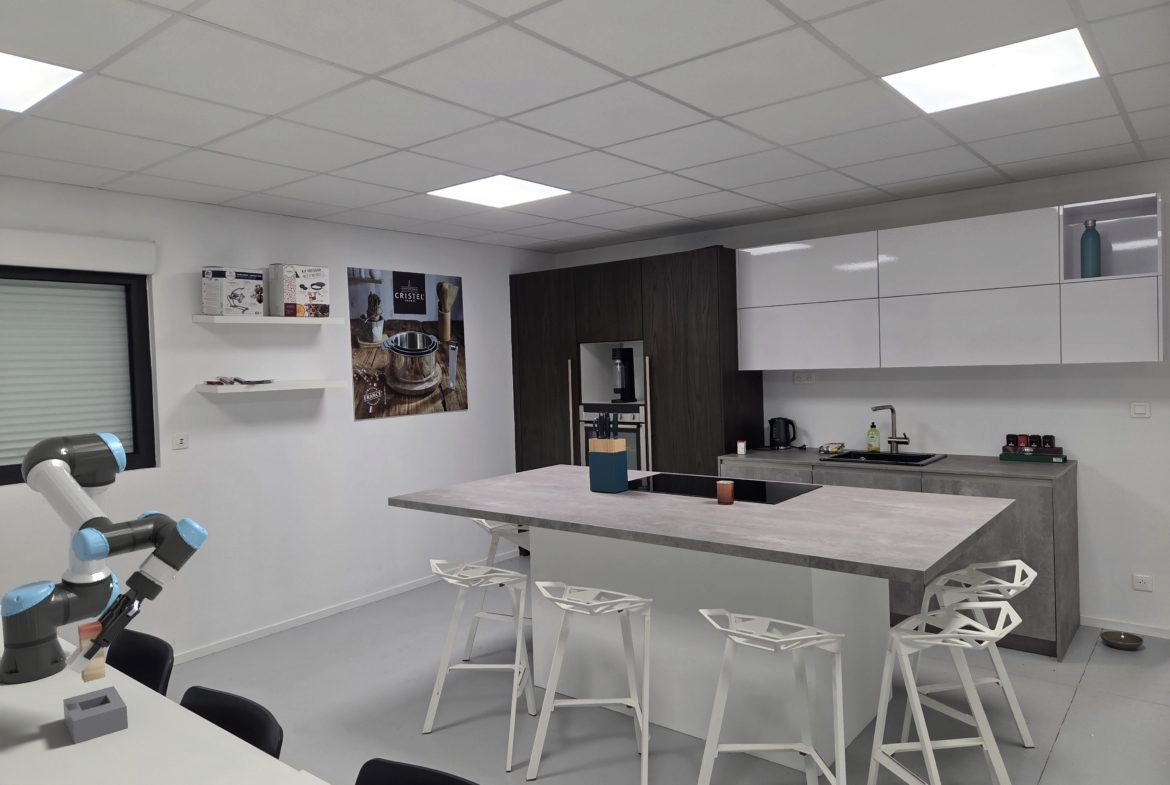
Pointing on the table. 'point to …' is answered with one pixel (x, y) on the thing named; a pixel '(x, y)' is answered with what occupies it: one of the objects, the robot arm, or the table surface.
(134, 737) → the table surface
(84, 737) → the socket block
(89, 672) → the plug peg
